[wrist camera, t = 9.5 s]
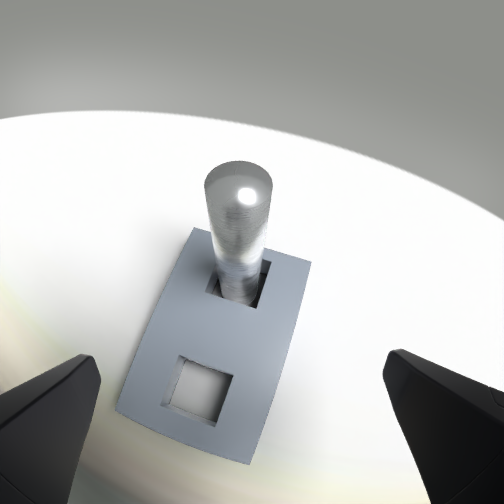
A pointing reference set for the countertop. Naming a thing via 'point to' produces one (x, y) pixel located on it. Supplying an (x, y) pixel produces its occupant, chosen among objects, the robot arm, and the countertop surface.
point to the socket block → (215, 350)
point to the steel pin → (238, 225)
